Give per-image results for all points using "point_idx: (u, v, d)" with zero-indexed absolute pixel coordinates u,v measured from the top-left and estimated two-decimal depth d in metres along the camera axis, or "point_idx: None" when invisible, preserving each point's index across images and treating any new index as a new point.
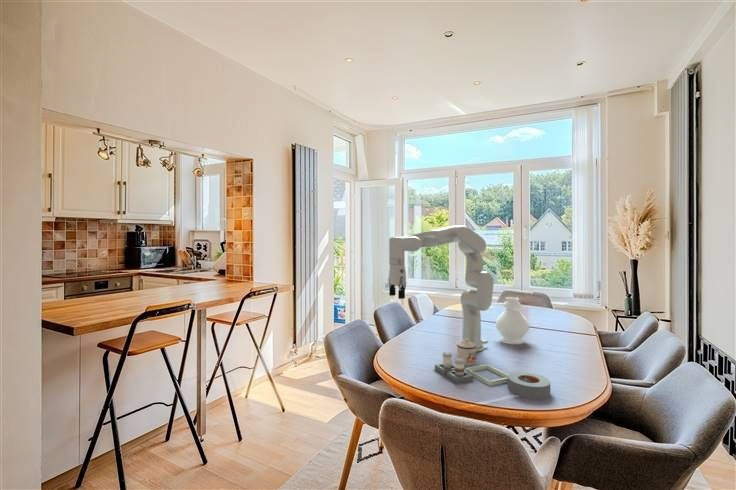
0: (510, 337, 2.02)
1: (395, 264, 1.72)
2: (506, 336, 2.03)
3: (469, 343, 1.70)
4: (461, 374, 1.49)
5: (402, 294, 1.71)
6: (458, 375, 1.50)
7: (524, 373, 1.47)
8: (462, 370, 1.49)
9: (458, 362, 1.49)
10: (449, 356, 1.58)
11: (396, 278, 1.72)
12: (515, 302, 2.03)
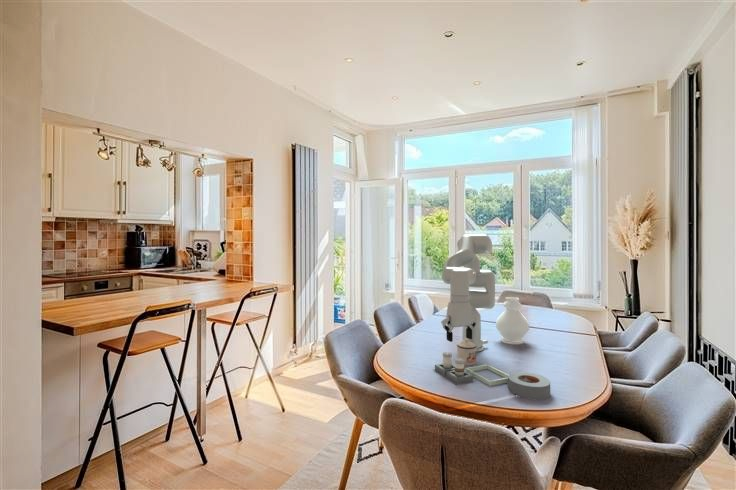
0: (510, 337, 2.02)
1: (468, 301, 1.49)
2: (506, 336, 2.03)
3: (469, 343, 1.70)
4: (461, 374, 1.49)
5: None
6: (458, 375, 1.50)
7: (524, 373, 1.47)
8: (462, 370, 1.49)
9: (458, 362, 1.49)
10: (449, 356, 1.58)
11: (470, 317, 1.50)
12: (515, 302, 2.03)
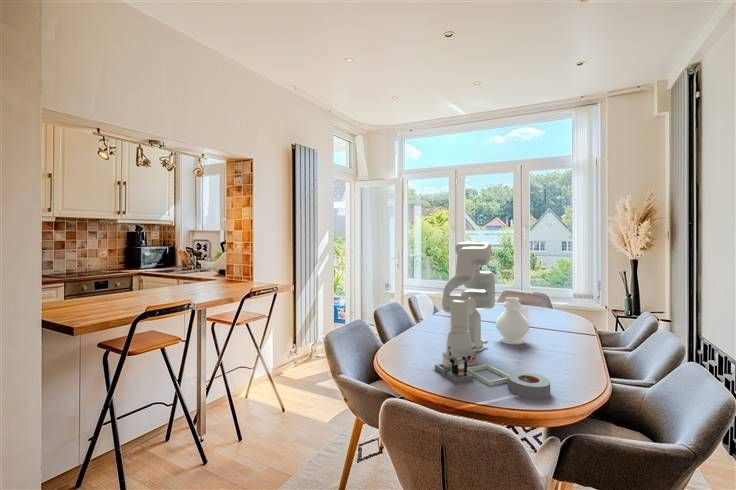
0: (510, 337, 2.02)
1: (468, 332, 1.50)
2: (506, 336, 2.03)
3: None
4: (461, 374, 1.49)
5: None
6: (458, 375, 1.50)
7: (524, 373, 1.47)
8: (462, 370, 1.49)
9: (458, 362, 1.49)
10: None
11: (470, 347, 1.50)
12: (515, 302, 2.03)
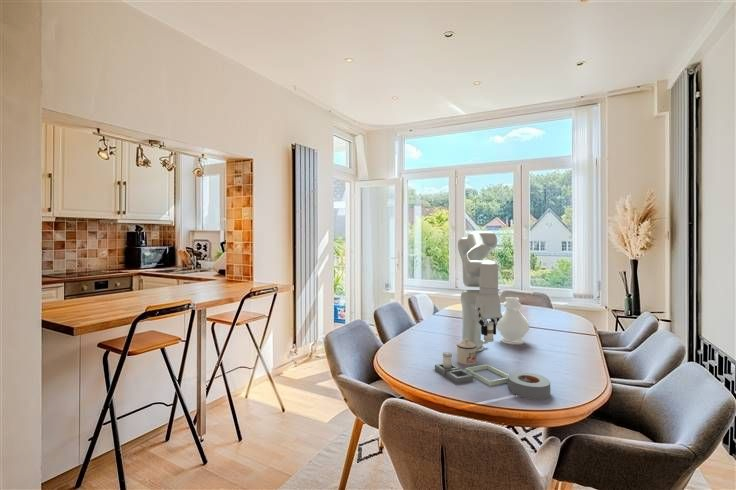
0: (510, 337, 2.02)
1: (497, 293, 1.52)
2: (506, 336, 2.03)
3: (469, 343, 1.70)
4: (490, 335, 1.51)
5: None
6: (487, 336, 1.52)
7: (524, 373, 1.47)
8: (491, 331, 1.51)
9: (487, 323, 1.51)
10: (449, 356, 1.58)
11: (499, 309, 1.52)
12: (515, 302, 2.03)
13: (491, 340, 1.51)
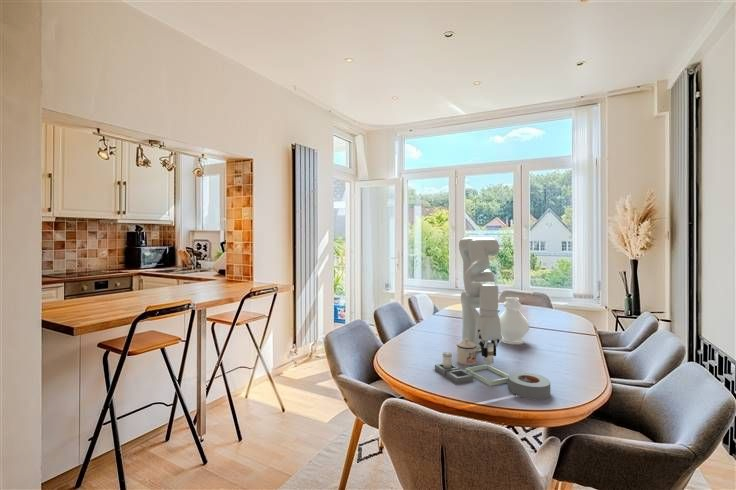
0: (510, 337, 2.02)
1: None
2: (506, 336, 2.03)
3: (469, 343, 1.70)
4: (491, 357, 1.51)
5: None
6: (488, 358, 1.52)
7: (524, 373, 1.47)
8: (492, 353, 1.51)
9: (488, 345, 1.51)
10: (449, 356, 1.58)
11: (499, 330, 1.53)
12: (515, 302, 2.03)
13: (491, 362, 1.51)
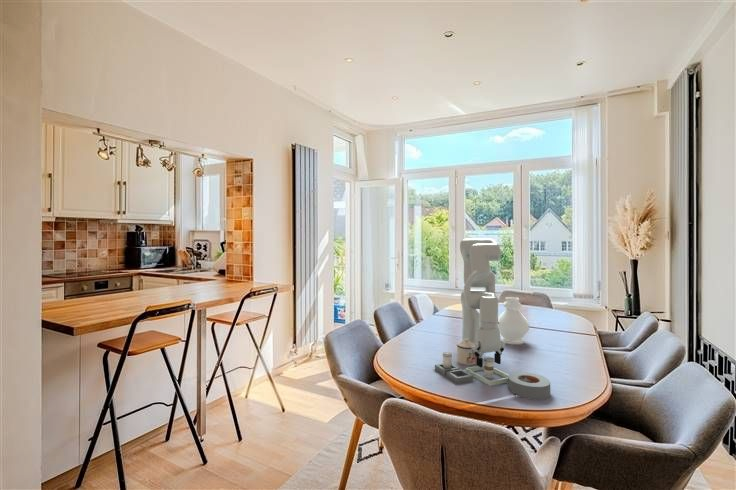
0: (510, 337, 2.02)
1: (497, 327, 1.52)
2: (506, 336, 2.03)
3: (469, 343, 1.70)
4: (490, 372, 1.52)
5: None
6: (488, 373, 1.52)
7: (524, 373, 1.47)
8: (491, 368, 1.52)
9: (488, 360, 1.52)
10: (449, 356, 1.58)
11: (499, 342, 1.53)
12: (515, 302, 2.03)
13: (491, 377, 1.52)
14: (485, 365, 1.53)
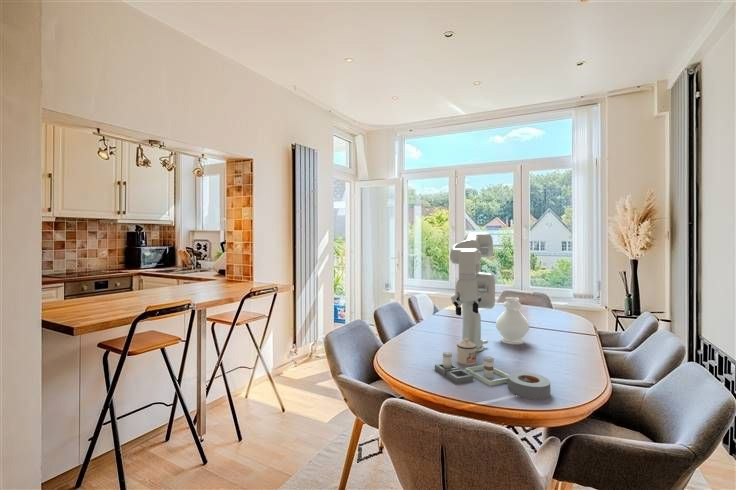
0: (510, 337, 2.02)
1: None
2: (506, 336, 2.03)
3: (469, 343, 1.70)
4: (490, 372, 1.52)
5: None
6: (488, 373, 1.52)
7: (524, 373, 1.47)
8: (491, 368, 1.52)
9: (488, 360, 1.52)
10: (449, 356, 1.58)
11: (476, 293, 1.65)
12: (515, 302, 2.03)
13: (491, 377, 1.52)
14: (485, 365, 1.53)
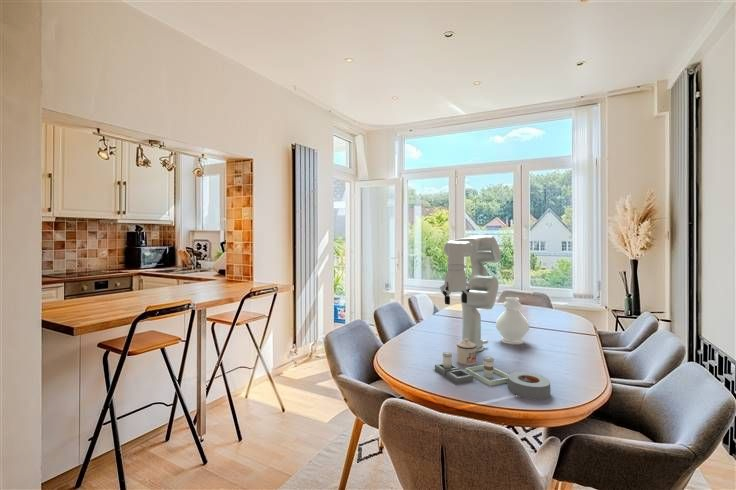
0: (510, 337, 2.02)
1: (463, 269, 1.72)
2: (506, 336, 2.03)
3: (469, 343, 1.70)
4: (490, 372, 1.52)
5: None
6: (488, 373, 1.52)
7: (524, 373, 1.47)
8: (491, 368, 1.52)
9: (488, 360, 1.52)
10: (449, 356, 1.58)
11: (465, 283, 1.72)
12: (515, 302, 2.03)
13: (491, 377, 1.52)
14: (485, 365, 1.53)
